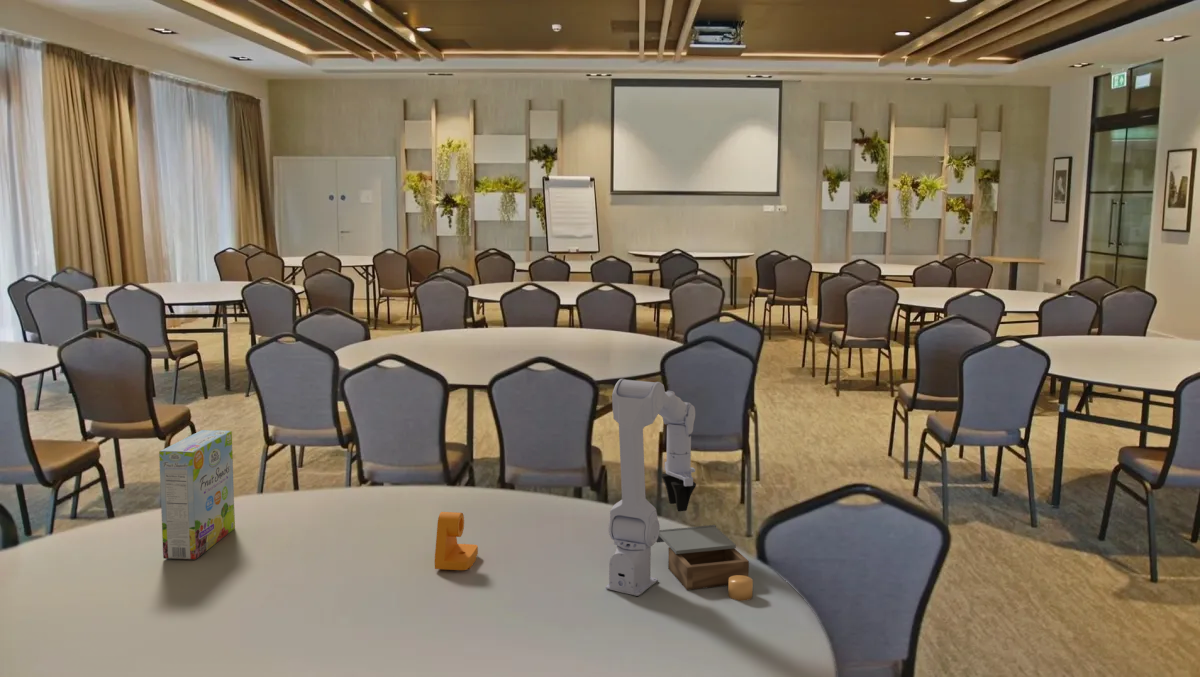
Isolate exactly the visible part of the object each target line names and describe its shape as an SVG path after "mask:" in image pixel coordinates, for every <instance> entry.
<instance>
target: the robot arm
mask: <svg viewBox="0 0 1200 677" xmlns="http://www.w3.org/2000/svg"><path fill="white" fill-rule="evenodd" d="M611 399H612V403H611V404H612V414H613V415H612V416H613V420H614V421H615V422H616V423H617V424H618V435H619V436H618V437H619V440H618V441H619V460H620V480H621V481H620V483H621V484H620V486H621V499H620V500H619V501H617V502H616V503H614V505H613V506H612V508H610V511H609V520H608V529H607V530H608V534H609V537H610V539H611V540H613V544H614V545H615V546H616V549H615V552H614V554H613V555H611V558H610V560H609V562H608V563H609V564H608V566H609V571H608V572H609V573H608V574H609V577H608V580H609V582H608V584H607V585H605V589H606V590H611V591H616V592H619V593H623V594H628V595H632V596H637V597H638V596H640V595H642V594H643V593H644V592H645V591H647V590H648V589H650V587H652V586H653V585H654V584H655V583H657V582H658V581H659V579H658V577H653V576H651V562H652V561H651V560H652V558H651V557H652V556H651V553H652V552H651V547H653V546H654V545H655V544H656V543H657V542H656V541H657V539H658V536H659V530H661V529H660V527H661V526H660V521H659V519H658V512H657V509H656V507H655V506H654V505H653V504H652V503H650V501H648V499H647V497H646V477H645V476H646V472H645V452H644V451H645V449H644V428H645V427H648V426H650V425H652V424H654V423H655V420H656V418H657V417H658V415H659V416H660V417H661V418H662V422H663V424H664V425H666V461H664V471H665V473H661V475H660V476H661V479H662V480H663V483H664V485H665V488H666V492H667V499H668V503H669V504H670V505H673V504H676V505H675V506H676V510H677V512H687V510H688V506H689V503H690V499H691V497H692V494H693V491H694V490H695V488H696V487H697V483H696V482H694V477H693V476H692V473H695V472H696V468H694V467H693V466H692V467H691V464H692V462H691V459H692V458H691V457H692V455H691V453H692V449H691V448H692V433H693V432H694V425H695V423H694V422H695V419H696V408H695V405H693V404H692V403H691V402H687V401H683V400H682V398H681V397H679V396H677V395H676V393H675V391H672V390H666V391H665V386H664V384H663V383H662V382H661V381H655V382H653V381H644V380H634V379H633V380H632V379H625V378H619V380H618V381H617V382H616V383H615V385H614V388H613V390H612V394H611Z"/></svg>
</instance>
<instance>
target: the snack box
mask: <svg viewBox="0 0 1200 677" xmlns="http://www.w3.org/2000/svg"><path fill="white" fill-rule="evenodd" d="M232 433H233V432H232V431H231V430H225V429H224V430H222V429H219V430H218V429H217V430H211V429H209V430H208V429H206V430H205V429H201V430H200V431H197V432H196V433H193V434H191V435H189V436H187V437H185V438H183V439H181V440H180V441H177V442H175V443H174V444H172V445H171V444H170V445H169V446H167V447H166V448H163V449H161V450H159V453H158V456H159V458H158V460H159V482H160V483H159V484H160V485H159V486H160V504H161V505H160V506H161V507H160V508H161V510H160V511H161V513H160V514H161V537H162V558H163V560H164V559H167V560H170V559H171V560H193V561H194V560H197V559H198V558H200V557H201V556H202V555H203V554H205V553H206V552H207V551H208V550H210V549H211V548H212V547H213V546H215V545H216V544H217V543H219V542H220V541H221V540H222V539H224V538H225V537H226V536H228V535H229V534H230V533H232V532H233V531H234V530H235V529H236V523H235V522H236V521H235V520H236V519H235V518H236V517H235V515H236V514H235V496H234V494H235V493H234V492H235V488H234V463H233V462H234V459H233V437H232V436H233V434H232Z"/></svg>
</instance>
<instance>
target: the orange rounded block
mask: <svg viewBox="0 0 1200 677" xmlns="http://www.w3.org/2000/svg"><path fill="white" fill-rule="evenodd" d="M753 585H754V579H752V577H750V576H749V575H748V576H743V575H735V576H731V577H729V582H728V586H727V587H728V588H727V589H728V590H727V591H728V592H727V596H728V598H730V599H732V600H735V601H741V602H745V601H749V600H751V599H752V598H753V596H754V595H753V594H754V593H753V590H754V586H753Z"/></svg>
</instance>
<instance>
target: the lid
mask: <svg viewBox="0 0 1200 677" xmlns="http://www.w3.org/2000/svg"><path fill="white" fill-rule="evenodd" d="M656 543H665V544H666V545H667V546H668V548H669V547H670V548H671V549H672V550H673V551H674V552H675V554H684V553H694V552H703V551H713V550H723V549H733V548H735V549H737V545H736V543H734V542H733V541H732V540H731V539H730V538H729V537H728V536H726V534H724V533H723V532H722V531H721V530H720V529H719V528H717V526H716V525H715V524H712V525H711V524H710V525H701V526H700V525H699V526H698V525H697V526H690V527H689V526H688V527H679V528H669V529H668V528H667V529H660V530H659V536H658V539H657V541H656Z"/></svg>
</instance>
